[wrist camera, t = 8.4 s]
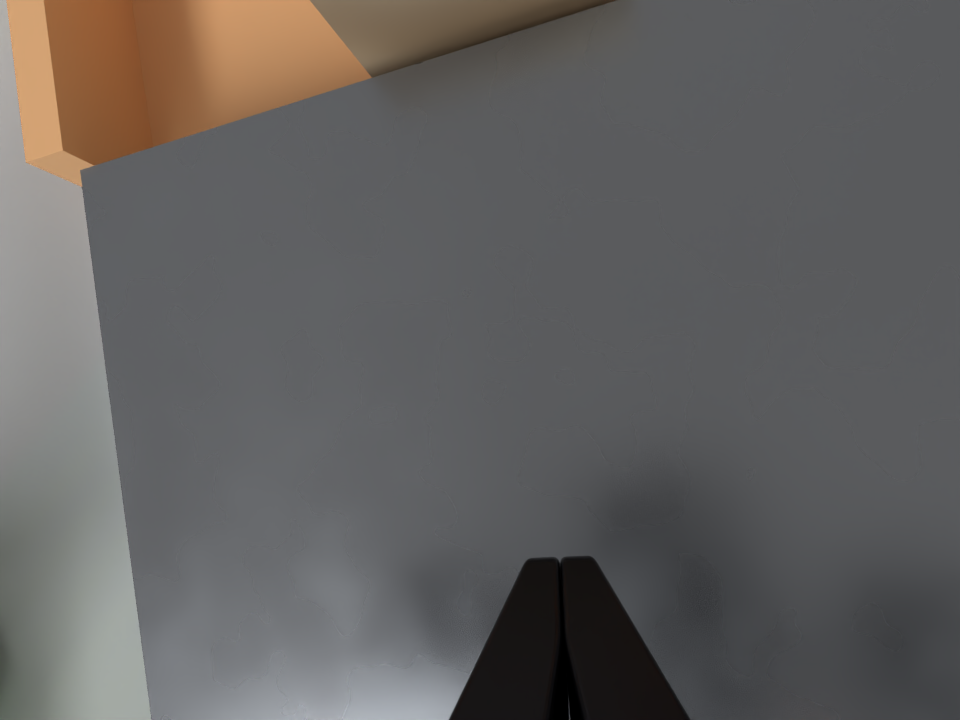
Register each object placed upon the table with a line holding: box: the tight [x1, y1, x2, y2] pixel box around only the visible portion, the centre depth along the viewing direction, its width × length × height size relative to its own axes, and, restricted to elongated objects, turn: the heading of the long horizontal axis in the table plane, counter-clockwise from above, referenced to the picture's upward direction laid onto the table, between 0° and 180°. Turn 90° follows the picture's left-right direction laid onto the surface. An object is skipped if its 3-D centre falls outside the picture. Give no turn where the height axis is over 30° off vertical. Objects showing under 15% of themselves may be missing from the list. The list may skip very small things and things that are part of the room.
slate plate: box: [80, 0, 960, 720], centre depth 17 cm, size 20×20×4 cm
